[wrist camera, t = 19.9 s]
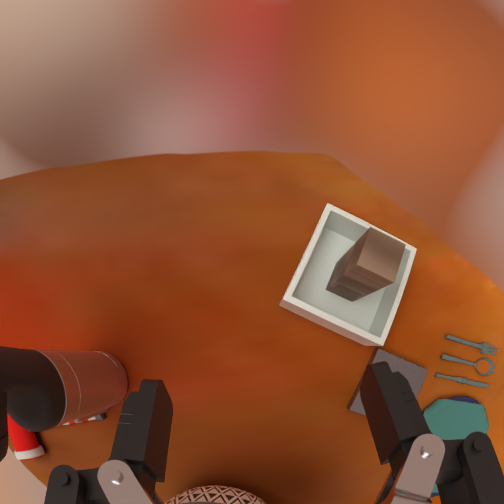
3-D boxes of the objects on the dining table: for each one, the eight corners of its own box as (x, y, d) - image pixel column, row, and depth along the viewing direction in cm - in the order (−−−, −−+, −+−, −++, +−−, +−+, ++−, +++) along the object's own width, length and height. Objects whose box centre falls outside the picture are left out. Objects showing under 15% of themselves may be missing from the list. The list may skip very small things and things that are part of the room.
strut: (352, 302, 43) (394, 282, 29) (325, 289, 44) (356, 264, 29) (362, 274, 44) (405, 244, 30) (336, 262, 45) (370, 226, 30)
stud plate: (397, 426, 38) (412, 434, 33) (346, 407, 40) (357, 415, 34) (423, 369, 41) (441, 371, 35) (375, 348, 42) (389, 348, 37)
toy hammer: (93, 378, 41) (72, 381, 35) (119, 444, 38) (101, 455, 32) (10, 398, 39) (-11, 400, 33) (31, 453, 36) (11, 460, 30)
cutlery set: (376, 493, 35) (381, 499, 32) (435, 328, 43) (442, 327, 41) (457, 492, 33) (463, 496, 31) (504, 350, 41) (512, 349, 39)
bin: (365, 345, 42) (382, 346, 35) (278, 305, 44) (282, 299, 38) (397, 261, 46) (416, 248, 39) (318, 221, 48) (327, 203, 41)
